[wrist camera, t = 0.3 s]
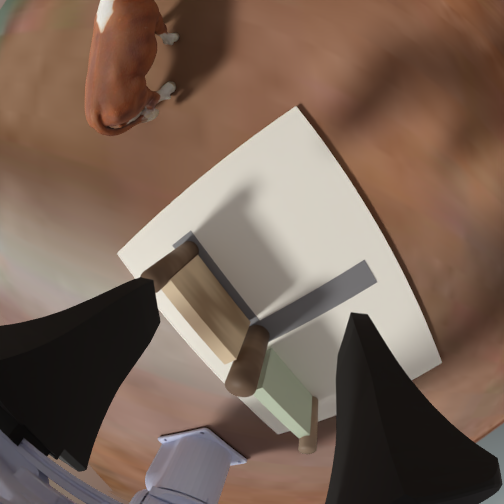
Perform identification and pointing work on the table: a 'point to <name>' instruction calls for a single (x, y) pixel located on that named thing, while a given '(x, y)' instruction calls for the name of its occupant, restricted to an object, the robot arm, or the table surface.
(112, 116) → the bull figurine
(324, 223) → the board
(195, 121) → the table surface
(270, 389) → the hinged panel
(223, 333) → the fixed fence
